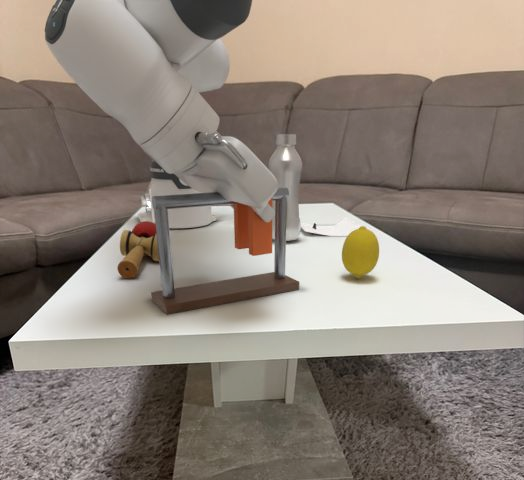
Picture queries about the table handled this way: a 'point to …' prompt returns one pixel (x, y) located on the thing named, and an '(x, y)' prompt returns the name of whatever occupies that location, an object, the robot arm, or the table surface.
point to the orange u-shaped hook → (252, 230)
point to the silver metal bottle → (287, 181)
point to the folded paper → (332, 228)
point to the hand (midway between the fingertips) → (256, 213)
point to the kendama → (137, 247)
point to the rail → (226, 289)
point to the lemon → (360, 252)
